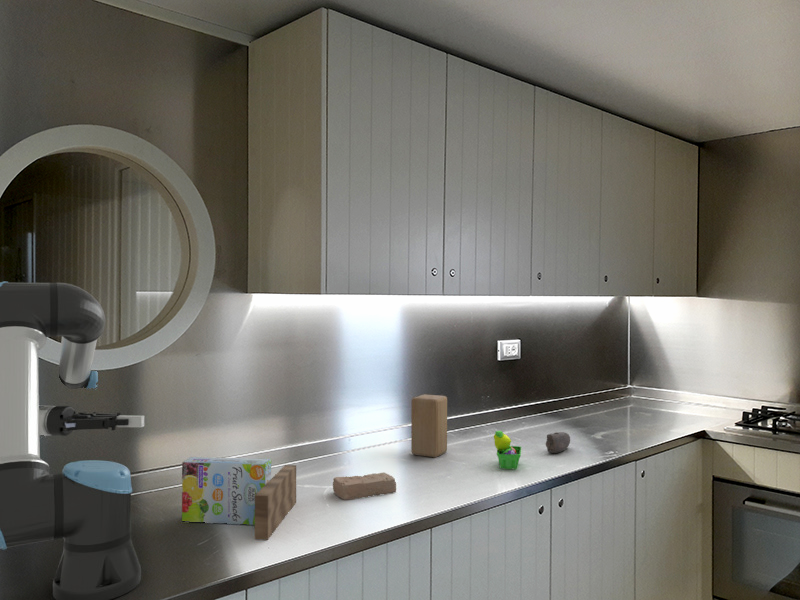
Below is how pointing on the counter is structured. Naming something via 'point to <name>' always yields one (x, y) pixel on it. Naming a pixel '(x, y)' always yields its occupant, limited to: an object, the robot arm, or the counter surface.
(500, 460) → the fruit basket
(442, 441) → the block
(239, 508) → the snack box
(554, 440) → the perforated stone tool
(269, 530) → the walnut board
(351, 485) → the brick
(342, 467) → the counter surface
